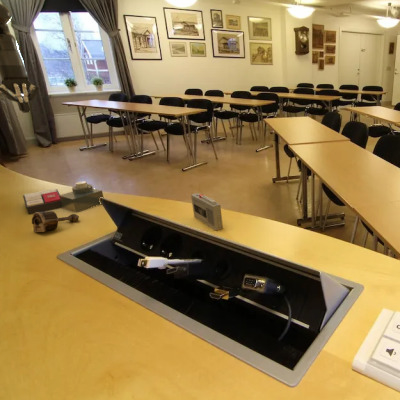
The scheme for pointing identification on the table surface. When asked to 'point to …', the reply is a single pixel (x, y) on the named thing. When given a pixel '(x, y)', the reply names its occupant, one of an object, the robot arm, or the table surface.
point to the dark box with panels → (42, 201)
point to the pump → (81, 184)
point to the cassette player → (207, 211)
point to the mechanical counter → (49, 220)
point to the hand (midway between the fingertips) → (25, 112)
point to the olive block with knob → (81, 198)
